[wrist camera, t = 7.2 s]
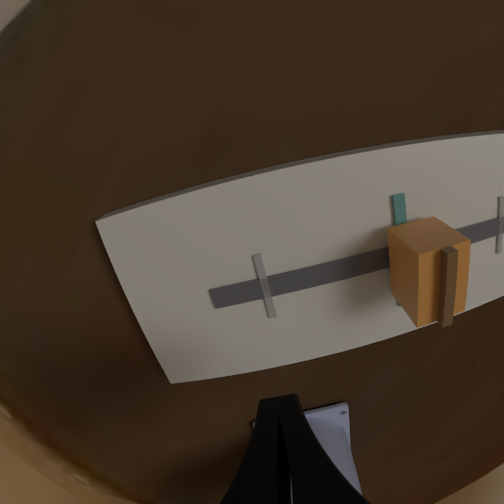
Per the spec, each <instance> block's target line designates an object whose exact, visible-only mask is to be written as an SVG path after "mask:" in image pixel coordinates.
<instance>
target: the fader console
mask: <svg viewBox="0 0 504 504" xmlns="http://www.w3.org/2000/svg"><path fill="white" fill-rule="evenodd" d="M433 216H434V217H436V218H437V219H439V220H441V221H442V222H444V223H445V224H447V225H449V226H450V227H452V228H453V229H455V230H457V231H458V232H460V233H461V234H463V235H464V236H466V237H467V238H469V239H470V240H471V246H470V264H469V277H468V287H467V296H466V304H465V311H467V310H470V309H472V308H475V307H477V306H480V305H482V304H485V303H487V302H489V301H492V300H494V299H496V298H499V297H501V296H503V295H504V130H496V131H485V132H474V133H464V134H455V135H446V136H438V137H430V138H423V139H416V140H409V141H402V142H396V143H389V144H383V145H377V146H371V147H365V148H360V149H354V150H349V151H343V152H338V153H333V154H328V155H323V156H318V157H313V158H308V159H303V160H299V161H294V162H290V163H285V164H281V165H276V166H272V167H268V168H263V169H259V170H255V171H251V172H247V173H243V174H239V175H235V176H231V177H227V178H223V179H220V180H216V181H212V182H208V183H205V184H201V185H197V186H194V187H190V188H187V189H183V190H180V191H176V192H173V193H169V194H166V195H163V196H159V197H156V198H153V199H149V200H146V201H143V202H140V203H137V204H133V205H130V206H127V207H124V208H121V209H118V210H115V211H112V212H109V213H106V214H105V215H103V216H102V217H100V218H99V219H98V220H96V221H95V222H96V225H97V227H98V230H99V233H100V235H101V238H102V240H103V243H104V246H105V248H106V251H107V253H108V255H109V258H110V260H111V263H112V265H113V267H114V270H115V272H116V274H117V277H118V279H119V281H120V284H121V286H122V288H123V290H124V293H125V295H126V297H127V299H128V301H129V303H130V306H131V308H132V310H133V312H134V314H135V316H136V318H137V320H138V322H139V324H140V326H141V328H142V330H143V332H144V334H145V336H146V338H147V340H148V342H149V344H150V346H151V348H152V350H153V352H154V354H155V356H156V357H157V359H158V361H159V363H160V365H161V367H162V368H163V370H164V372H165V374H166V376H167V377H168V379H169V381H170V383H171V384H172V383H181V382H189V381H196V380H203V379H210V378H217V377H223V376H229V375H235V374H241V373H247V372H252V371H258V370H263V369H268V368H273V367H278V366H283V365H287V364H292V363H297V362H301V361H305V360H310V359H314V358H318V357H322V356H326V355H330V354H334V353H338V352H342V351H346V350H349V349H353V348H357V347H360V346H364V345H367V344H371V343H374V342H377V341H381V340H384V339H387V338H391V337H394V336H397V335H400V334H403V333H406V332H409V331H412V330H415V329H418V328H421V327H424V326H427V325H430V324H433V323H436V322H437V321H436V322H433V323H430V324H427V325H424V326H421V327H418V328H417V327H416V326H415V325H414V323H413V322H412V320H411V319H410V318H409V316H408V315H407V314H406V312H405V311H404V309H403V308H402V307H401V305H400V304H399V303H398V301H397V300H396V299H395V297H394V296H393V295H392V293H391V281H390V261H389V246H388V234H387V228H388V227H392V226H396V225H400V224H404V223H409V222H413V221H417V220H421V219H425V218H429V217H433ZM465 311H462V312H465ZM462 312H460V313H462ZM460 313H457V314H460ZM457 314H455V315H457ZM455 315H453V316H455Z"/></svg>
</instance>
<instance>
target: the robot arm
mask: <svg viewBox="0 0 504 504" xmlns="http://www.w3.org/2000/svg"><path fill="white" fill-rule="evenodd" d="M220 504H370V503H369V502H368V501H367V500H366V499H365V498H364V497H363V496H362V492H361V488H360V484H359V480H358V476H357V472H356V468H355V465H354V461H353V457H352V453H351V449H350V427H349V410H348V405H347V403H339V404H335V405H331V406H327V407H322V408H318V409H314V410H309V411H305V412H303V410H302V407H301V404H300V401H299V396H298V395H297V394H289V395H284V396H279V397H273V398H268V399H262V400H260V401H259V405H258V411H257V416H256V420H255V422H253V431H252V435H251V438H250V441H249V444H248V447H247V449H246V452H245V455H244V457H243V459H242V462H241V464H240V467H239V469H238V471H237V473H236V475H235V477H234V479H233V481H232V483H231V485H230V487H229V489H228V491H227V492H226V494H225V496H224V497H223V499H222V501H221V502H220Z"/></svg>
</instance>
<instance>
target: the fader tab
mask: <svg viewBox="0 0 504 504" xmlns="http://www.w3.org/2000/svg"><path fill="white" fill-rule="evenodd" d="M387 234H388V246H389V261H390V281H391V293H392V295H393V296H394V297H395V299H396V300H397V301H398V303H399V304H400V305H401V307H402V308H403V309H404V311H405V312H406V314H407V315H408V316H409V318H410V319H411V320H412V322H413V323H414V325H415V326H416V327H417V328H418V327H421V326H424V325H427V324H430V323H433V322H436V321H437V322H438V323H439V324H440V325H441V327H442V328H443V327H446V326H448V325H451V324H452V321H453V315H455V314H457V313H460V312H462V311H465V304H466V296H467V287H468V277H469V264H470V246H471V240H470V239H469V238H467V237H466V236H464V235H463V234H461V233H460V232H458V231H457V230H455V229H453V228H452V227H450V226H449V225H447V224H445V223H444V222H442V221H441V220H439V219H437V218H436V217H434V216H433V217H429V218H425V219H421V220H417V221H413V222H409V223H404V224H400V225H396V226H392V227H388V228H387Z"/></svg>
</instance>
